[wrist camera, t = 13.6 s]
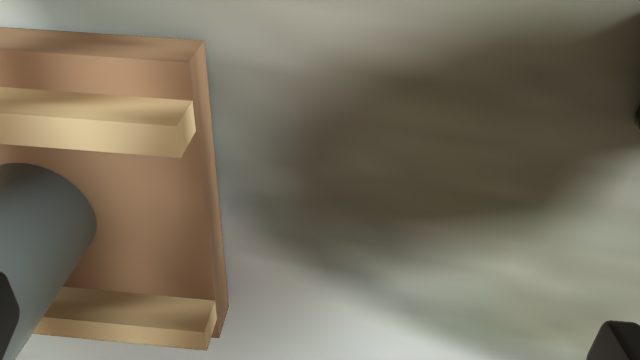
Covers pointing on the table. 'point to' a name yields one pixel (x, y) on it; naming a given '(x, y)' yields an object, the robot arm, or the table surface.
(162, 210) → the display plinth
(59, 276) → the spectacles tube
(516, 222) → the table surface
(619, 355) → the robot arm
